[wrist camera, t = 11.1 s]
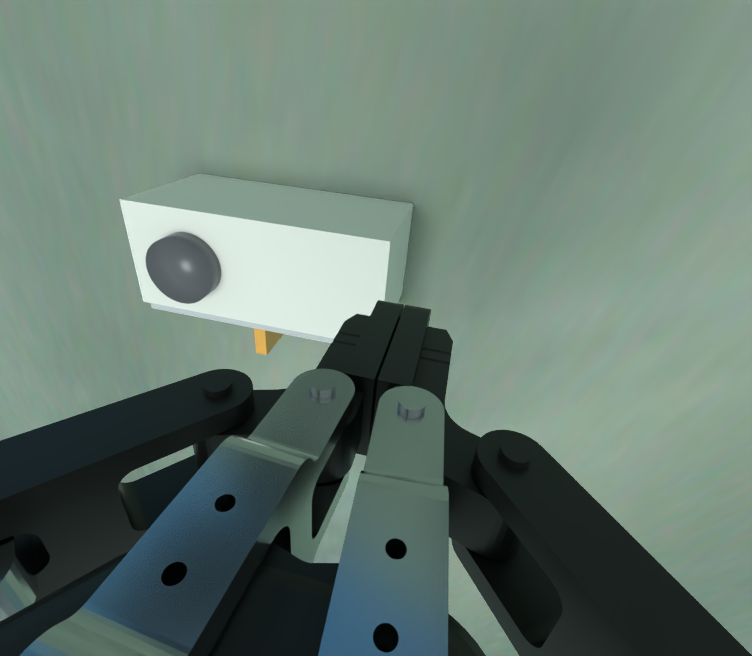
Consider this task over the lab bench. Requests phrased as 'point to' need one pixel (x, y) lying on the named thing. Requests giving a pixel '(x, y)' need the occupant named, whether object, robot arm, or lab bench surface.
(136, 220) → the camera housing
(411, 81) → the lab bench surface
